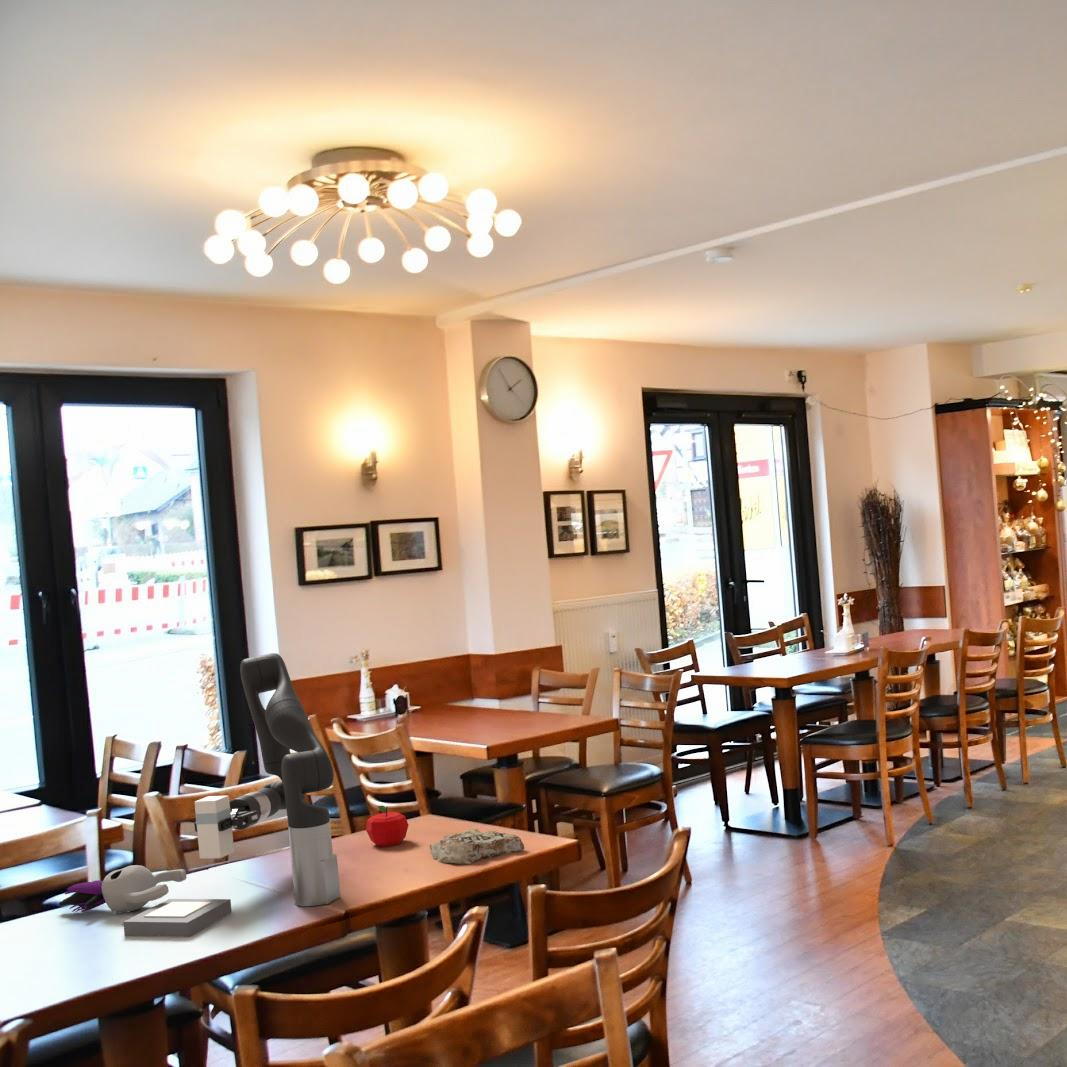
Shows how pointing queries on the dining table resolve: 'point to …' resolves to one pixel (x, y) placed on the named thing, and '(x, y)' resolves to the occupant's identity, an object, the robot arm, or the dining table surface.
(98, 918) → the dining table surface
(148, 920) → the podium
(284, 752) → the robot arm
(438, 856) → the stone
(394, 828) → the apple
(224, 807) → the carton
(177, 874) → the figurine
